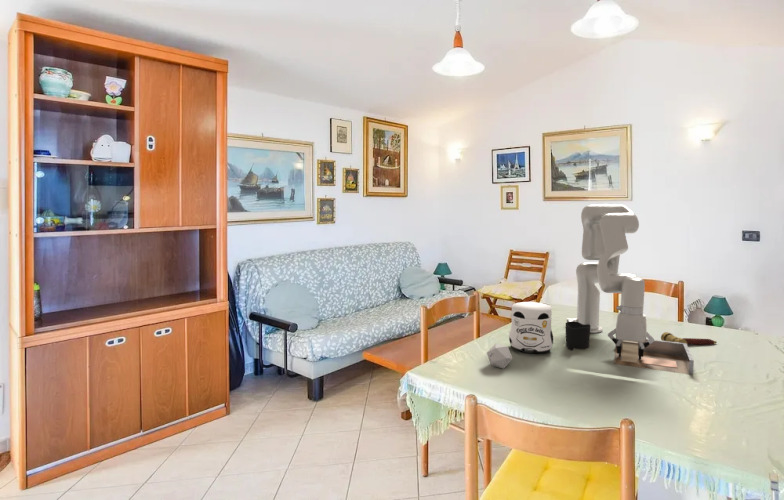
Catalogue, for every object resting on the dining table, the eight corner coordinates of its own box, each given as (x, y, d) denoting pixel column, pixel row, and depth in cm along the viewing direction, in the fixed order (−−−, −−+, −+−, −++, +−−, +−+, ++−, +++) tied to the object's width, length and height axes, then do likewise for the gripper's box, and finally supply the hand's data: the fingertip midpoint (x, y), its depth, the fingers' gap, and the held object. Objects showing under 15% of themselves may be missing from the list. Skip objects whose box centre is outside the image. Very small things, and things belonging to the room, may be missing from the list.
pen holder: (584, 344, 189) (585, 321, 188) (593, 351, 179) (594, 327, 178) (561, 344, 189) (562, 321, 188) (569, 352, 180) (570, 327, 179)
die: (488, 362, 171) (480, 346, 166) (507, 350, 172) (500, 335, 167) (498, 377, 165) (490, 361, 159) (518, 365, 165) (511, 349, 160)
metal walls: (614, 363, 164) (615, 350, 163) (615, 347, 181) (615, 335, 181) (692, 374, 153) (693, 360, 152) (685, 356, 170) (686, 343, 170)
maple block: (637, 362, 164) (638, 347, 163) (622, 360, 166) (622, 345, 166) (636, 355, 172) (637, 340, 171) (622, 353, 174) (622, 338, 174)
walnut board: (614, 366, 164) (614, 363, 164) (615, 349, 181) (615, 346, 181) (692, 377, 153) (692, 374, 153) (685, 358, 170) (685, 355, 170)
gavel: (707, 333, 192) (726, 340, 182) (706, 343, 192) (725, 351, 182) (661, 331, 190) (677, 339, 180) (660, 342, 191) (676, 350, 181)
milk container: (524, 358, 173) (524, 313, 171) (501, 344, 190) (501, 303, 188) (562, 353, 178) (563, 309, 176) (536, 340, 195) (537, 300, 193)
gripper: (605, 310, 168) (604, 356, 170) (659, 315, 160) (656, 363, 162) (606, 306, 174) (604, 350, 176) (657, 310, 167) (655, 357, 169)
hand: (629, 356), depth 169 cm, fingers open, 6 cm apart
